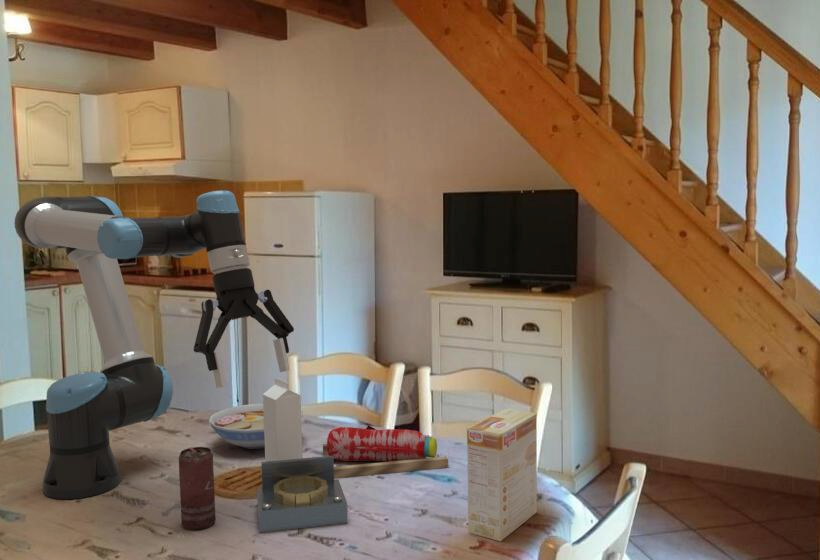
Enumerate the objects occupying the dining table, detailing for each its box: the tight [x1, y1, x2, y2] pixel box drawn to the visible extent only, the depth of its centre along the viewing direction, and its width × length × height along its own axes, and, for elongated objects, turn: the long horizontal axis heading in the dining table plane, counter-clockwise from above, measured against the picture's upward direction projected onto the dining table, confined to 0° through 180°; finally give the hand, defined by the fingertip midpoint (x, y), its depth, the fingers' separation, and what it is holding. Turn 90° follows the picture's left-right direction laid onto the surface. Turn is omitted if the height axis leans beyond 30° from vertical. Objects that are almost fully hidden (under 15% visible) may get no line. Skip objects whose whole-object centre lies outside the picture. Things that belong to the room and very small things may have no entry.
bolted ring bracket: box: [256, 455, 348, 534], centre depth 143 cm, size 16×12×9 cm
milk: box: [262, 377, 304, 462], centre depth 160 cm, size 6×6×22 cm
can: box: [178, 446, 217, 531], centre depth 139 cm, size 6×6×14 cm
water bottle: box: [326, 424, 438, 462], centre depth 173 cm, size 12×8×25 cm
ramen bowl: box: [208, 403, 304, 450], centre depth 185 cm, size 25×23×8 cm
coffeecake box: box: [466, 407, 538, 542], centre depth 137 cm, size 15×7×20 cm, turn 145°
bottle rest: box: [322, 434, 449, 479], centre depth 173 cm, size 26×18×2 cm
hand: (254, 379), depth 144 cm, fingers open, 13 cm apart
